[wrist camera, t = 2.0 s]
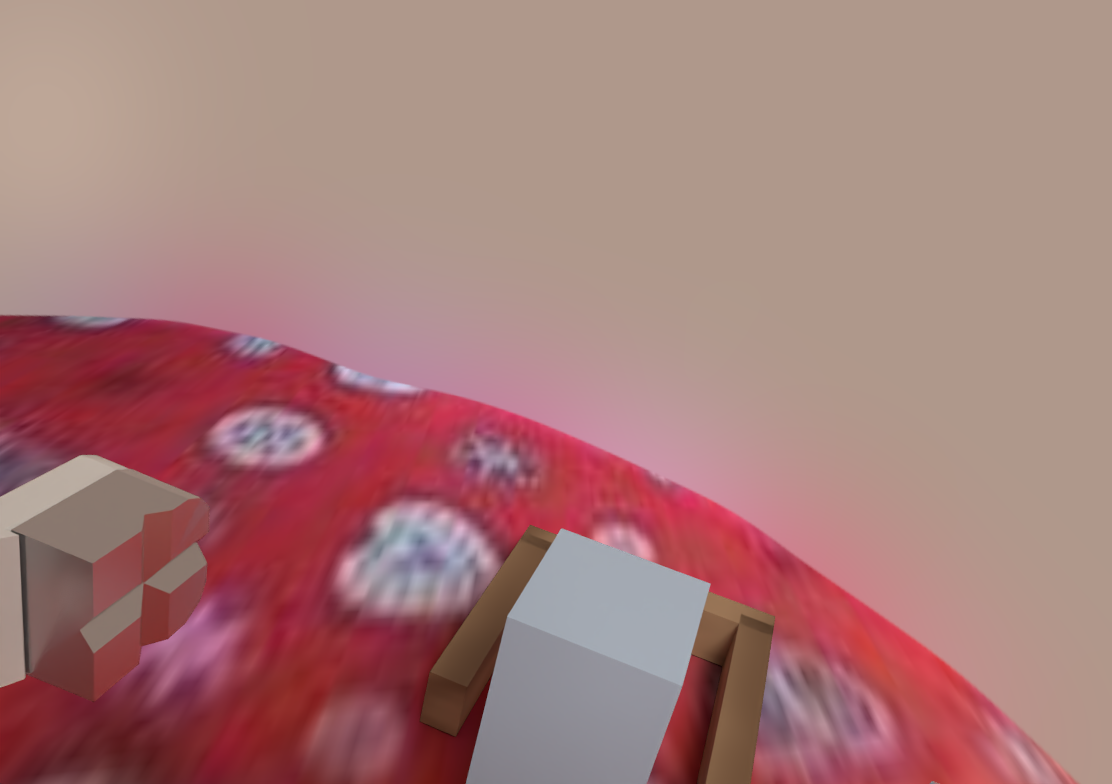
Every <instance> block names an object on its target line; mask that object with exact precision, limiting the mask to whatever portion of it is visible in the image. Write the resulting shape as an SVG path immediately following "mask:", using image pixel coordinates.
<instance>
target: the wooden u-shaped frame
mask: <svg viewBox="0 0 1112 784" xmlns="http://www.w3.org/2000/svg"><path fill="white" fill-rule="evenodd" d="M556 536H557V535H556V534H553V533H550V532H548V531H545V530H542V529H540V528H537V527H534V526H532V525H530V526H529V527H528V529H527V530H526V532H525V533H524V535H523V536H522V538H521V539H520V540H519V542H518V543H517V545H516V546H515V548H514V549H513V551H512V552H511V554H510V555H509V557H508V558H507V560H506V561H505V562H504V564H503V565H502V567H501V568H500V570H499V571H498V573H497V574H496V576H495V577H494V579H493V580H492V582H491V583H490V584H489V586H488V587H487V589H486V590H485V592H484V593H483V595H482V596H481V598H480V599H479V601H478V602H477V603H476V605H475V606H474V608H473V609H472V611H471V612H470V614H469V615H468V617H467V618H466V620H465V621H464V623H463V624H462V625H461V627H460V628H459V630H458V631H457V633H456V634H455V636H454V637H453V639H452V640H451V642H450V643H449V645H448V646H447V647H446V649H445V650H444V652H443V653H442V655H441V656H440V658H439V659H438V661H437V662H436V664H435V665H434V667H433V668H432V669H431V671H430V674H429V679H428V684H427V688H426V693H425V698H424V703H423V708H422V712H421V717H420V722H422V723H424V724H427V725H429V726H431V727H434V728H436V729H438V730H441V731H443V732H445V733H448V734H450V735H452V736H455V737H456V735H457V734H458V732H459V730H460V728H461V727H462V725H463V723H464V722H465V720H466V718H467V716H468V715H469V713H470V711H471V710H472V708H473V706H474V704H475V703H476V701H477V699H478V698H479V696H480V694H481V692H482V691H483V689H484V687H485V685H486V684H487V682H488V680H489V679H490V677H491V675H492V673H493V672H494V668H495V664H496V660H497V656H498V652H499V648H500V643H501V639H502V635H503V631H504V627H505V623H506V619H507V616H508V614H509V613H510V611H511V610H512V608H513V606H514V605H515V603H516V601H517V600H518V598H519V596H520V595H521V593H522V592H523V590H524V588H525V587H526V585H527V583H528V582H529V580H530V579H531V577H532V575H533V574H534V572H535V570H536V569H537V567H538V566H539V564H540V562H541V561H542V559H543V557H544V556H545V554H546V552H547V551H548V549H549V548H550V546H551V544H552V543H553V541H554V539H555V538H556ZM774 621H775V616H772V615H770V614H767V613H764V612H762V611H759V610H756V609H754V608H751V607H748V606H746V605H743V604H740V603H738V602H735V601H732V600H730V599H727V598H724V597H722V596H719V595H716V594H714V593H711V592H708V595H707V598H706V602H705V606H704V609H703V613H702V617H701V620H700V624H699V627H698V631H697V635H696V638H695V642H694V645H693V649H692V653H691V654H692V655H695V656H697V657H700V658H702V659H705V660H707V661H710V662H713V663H715V664H718V665H720V666H722V671H721V675H720V680H719V684H718V689H717V693H716V698H715V702H714V707H713V712H712V716H711V721H710V725H709V730H708V734H707V739H706V743H705V748H704V752H703V757H702V761H701V766H700V770H699V775H698V779H697V784H750V783H751V776H752V769H753V763H754V756H755V749H756V742H757V736H758V729H759V722H760V715H761V709H762V702H763V695H764V689H765V682H766V675H767V668H768V662H769V655H770V648H771V641H772V635H773V628H774Z"/></svg>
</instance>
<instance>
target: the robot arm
mask: <svg viewBox="0 0 1112 784" xmlns="http://www.w3.org/2000/svg"><path fill="white" fill-rule="evenodd" d="M208 532H209V506H208V505H207V504H206V503H205V502H204V501H203V500H202V498H200V497H198V496H195V495H193V494H190V493H188V492H186V491H183V490H181V489H178V488H176V487H174V486H171V485H169V484H166V483H164V482H162V481H159V480H157V479H154V478H152V477H149V476H147V475H145V474H142V473H140V472H137V471H135V470H133V469H128V468H126V467H124V466H121V465H119V464H116V463H114V462H112V461H109V460H107V459H104V458H102V457H99V456H97V455H80V456H78V457H76V458H74V459H72V460H71V461H69V462H67V463H65V464H63V465H61V466H59V467H57V468H55V469H53V470H51V471H49V472H47V473H45V474H43V475H42V476H40V477H38V478H36V479H34V480H32V481H30V482H28V483H26V484H24V485H22V486H20V487H18V488H16V489H14V490H13V491H11V492H9V493H7V494H5V495H3V496H1V497H0V688H1V687H3V686H6V685H9V684H12V683H14V682H17V681H20V680H23V679H25V678H26V674H27V675H30V676H32V677H34V678H37V679H39V680H42V681H44V682H46V683H49V684H51V685H54V686H56V687H59V688H61V689H63V690H66V691H68V692H71V693H73V694H76V695H78V696H80V697H83V698H85V699H88V700H90V701H92V702H94V701H96V700H97V699H98V698H99V697H100V696H101V695H103V694H104V693H105V692H106V691H107V690H109V689H110V688H111V687H112V686H113V685H114V684H116V683H117V682H118V681H119V680H120V679H121V678H123V677H124V676H125V675H126V674H127V673H129V672H130V671H131V670H132V669H133V668H134V667H136V666H137V665H138V664H139V661H140V654H141V647H142V646H144V645H148V644H151V643H155V642H159V641H162V640H166V639H168V638H169V637H171V636H172V635H173V634H174V633H175V632H176V631H177V630H178V629H179V628H181V627H182V626H183V625H184V624H185V623H186V621H187V620H188V618H189V617H190V615H191V614H192V612H193V611H194V609H195V607H196V606H197V604H198V603H199V601H200V599H201V596H202V592H203V589H204V586H205V583H206V574H207V562H206V560H205V558H204V556H203V554H202V552H201V550H200V548H199V546H198V544H197V542H198V541H199V540H200V539H201V538H202V537H204V536H205V535H206V534H207V533H208ZM930 784H939V783H936V782H933V781H932V782H931V783H930Z"/></svg>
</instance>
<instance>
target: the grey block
mask: <svg viewBox="0 0 1112 784" xmlns="http://www.w3.org/2000/svg"><path fill="white" fill-rule="evenodd" d="M709 588H710V583H707V582H704V581H702V580H699V579H696V578H694V577H691V576H688V575H685V574H683V573H680V572H677V571H675V570H672V569H669V568H667V567H664V566H661V565H659V564H656V563H653V562H651V561H648V560H645V559H642V558H640V557H637V556H634V555H632V554H629V553H626V552H624V551H621V550H618V549H616V548H613V547H610V546H608V545H605V544H602V543H599V542H597V541H594V540H591V539H589V538H586V537H583V536H581V535H578V534H575V533H573V532H570V531H567V530H565V529H562V528H561V530H560V531H559V533H558V535H557V536H556V538H555V539H554V541H553V543H552V544H551V546H550V548H549V549H548V551H547V552H546V554H545V556H544V557H543V559H542V561H541V562H540V564H539V566H538V567H537V569H536V570H535V572H534V574H533V575H532V577H531V579H530V580H529V582H528V583H527V585H526V587H525V588H524V590H523V592H522V593H521V595H520V596H519V598H518V600H517V601H516V603H515V605H514V606H513V608H512V610H511V611H510V613H509V614H508V616H507V619H506V623H505V627H504V631H503V635H502V639H501V643H500V648H499V652H498V656H497V660H496V664H495V668H494V672H493V676H492V680H491V684H490V688H489V692H488V696H487V700H486V704H485V708H484V712H483V716H482V720H481V724H480V728H479V732H478V736H477V740H476V744H475V748H474V752H473V756H472V760H471V764H470V768H469V773H468V777H467V781H466V784H646V783H647V781H648V778H649V775H650V772H651V770H652V767H653V764H654V762H655V759H656V756H657V753H658V751H659V748H660V745H661V743H662V740H663V737H664V734H665V732H666V729H667V726H668V724H669V721H670V718H671V715H672V713H673V710H674V707H675V704H676V702H677V699H678V696H679V694H680V691H681V688H682V685H683V682H684V678H685V674H686V671H687V667H688V664H689V660H690V656H691V653H692V649H693V645H694V642H695V638H696V635H697V631H698V627H699V624H700V620H701V617H702V613H703V609H704V606H705V602H706V598H707V595H708V591H709Z"/></svg>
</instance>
